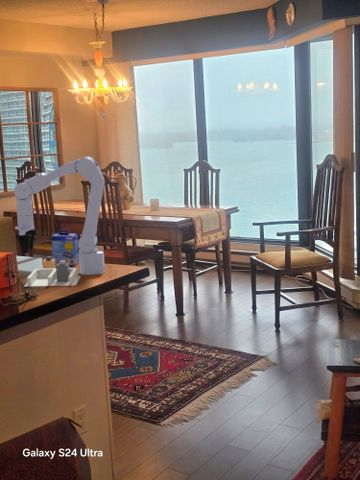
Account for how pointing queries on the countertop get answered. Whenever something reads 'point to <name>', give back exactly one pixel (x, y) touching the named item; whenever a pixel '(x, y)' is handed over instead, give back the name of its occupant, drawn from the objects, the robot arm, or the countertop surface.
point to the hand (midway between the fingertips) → (27, 251)
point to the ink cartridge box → (65, 247)
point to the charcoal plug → (62, 271)
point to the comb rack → (51, 278)
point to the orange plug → (49, 263)
